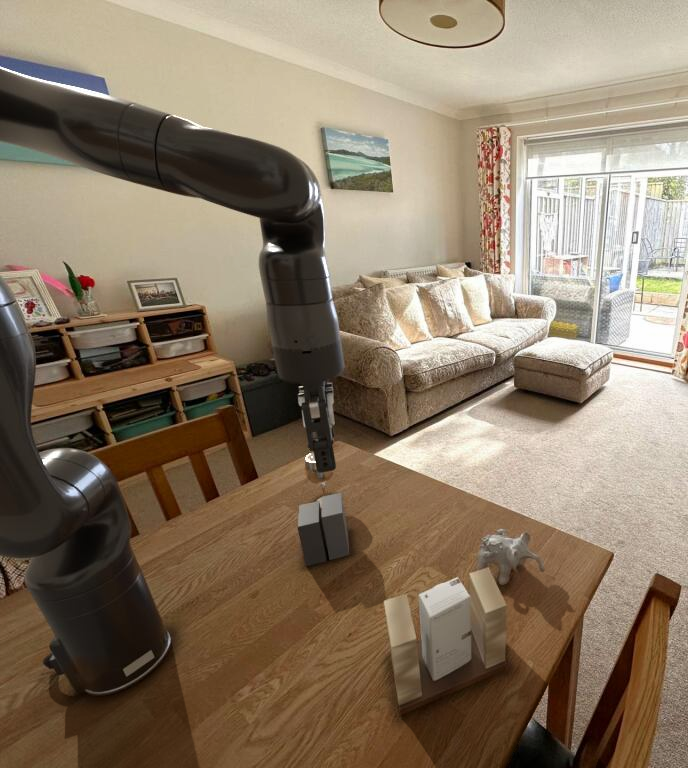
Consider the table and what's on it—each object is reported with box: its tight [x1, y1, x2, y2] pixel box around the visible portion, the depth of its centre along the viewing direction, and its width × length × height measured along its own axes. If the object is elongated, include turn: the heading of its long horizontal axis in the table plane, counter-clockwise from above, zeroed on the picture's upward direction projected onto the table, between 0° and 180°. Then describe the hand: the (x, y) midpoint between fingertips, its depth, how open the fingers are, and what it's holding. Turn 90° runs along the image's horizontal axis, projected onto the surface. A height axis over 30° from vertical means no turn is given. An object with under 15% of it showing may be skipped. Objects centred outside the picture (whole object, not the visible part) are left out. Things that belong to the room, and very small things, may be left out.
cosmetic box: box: [417, 576, 471, 681], centre depth 56 cm, size 6×4×12 cm
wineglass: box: [304, 451, 335, 509], centre depth 89 cm, size 6×6×12 cm
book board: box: [383, 567, 508, 716], centre depth 56 cm, size 15×8×12 cm, turn 114°
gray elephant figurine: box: [476, 528, 545, 586], centre depth 73 cm, size 9×12×8 cm
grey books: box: [296, 492, 350, 567], centre depth 76 cm, size 8×6×10 cm
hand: (326, 453), depth 55 cm, fingers open, 8 cm apart
